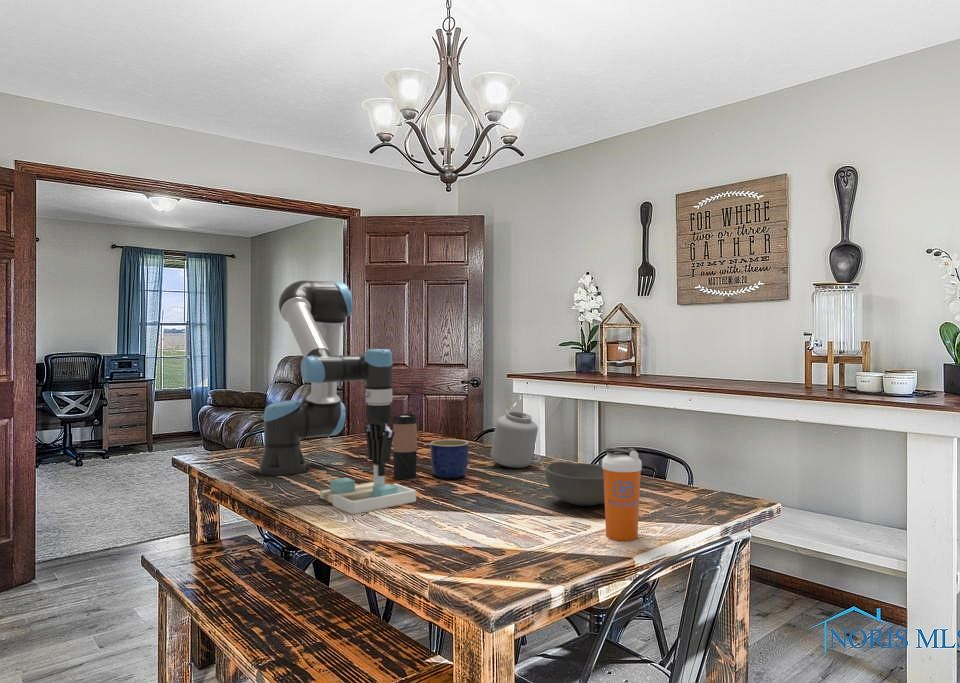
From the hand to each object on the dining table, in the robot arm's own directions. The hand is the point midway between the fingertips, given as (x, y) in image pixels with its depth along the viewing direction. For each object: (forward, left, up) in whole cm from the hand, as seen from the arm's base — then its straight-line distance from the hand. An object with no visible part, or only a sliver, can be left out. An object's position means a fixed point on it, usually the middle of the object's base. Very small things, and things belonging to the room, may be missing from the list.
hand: (379, 486), depth 181 cm
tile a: (+3, 0, -3) cm, 4 cm away
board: (-5, -4, -3) cm, 7 cm away
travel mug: (-17, +20, -3) cm, 27 cm away
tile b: (-6, -8, -1) cm, 10 cm away
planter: (-9, +32, -3) cm, 34 cm away
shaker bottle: (+66, +25, -3) cm, 70 cm away
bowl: (+42, +39, -3) cm, 57 cm away
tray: (+5, -4, -3) cm, 7 cm away
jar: (-6, +59, -3) cm, 59 cm away
